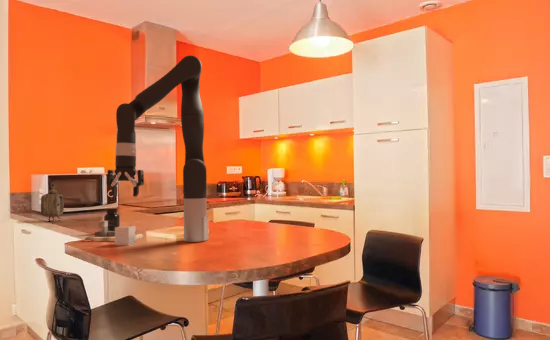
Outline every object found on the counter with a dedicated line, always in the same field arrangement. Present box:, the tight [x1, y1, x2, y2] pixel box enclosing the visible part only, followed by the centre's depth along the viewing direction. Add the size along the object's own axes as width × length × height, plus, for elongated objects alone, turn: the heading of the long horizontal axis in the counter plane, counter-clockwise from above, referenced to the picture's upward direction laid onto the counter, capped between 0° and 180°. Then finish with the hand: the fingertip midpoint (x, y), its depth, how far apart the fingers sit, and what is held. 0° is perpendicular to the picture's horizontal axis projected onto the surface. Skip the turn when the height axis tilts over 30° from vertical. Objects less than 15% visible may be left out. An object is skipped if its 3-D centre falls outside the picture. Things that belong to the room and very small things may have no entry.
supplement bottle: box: [103, 207, 121, 231], centre depth 186 cm, size 7×7×12 cm
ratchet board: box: [84, 220, 144, 242], centre depth 167 cm, size 20×11×8 cm, turn 84°
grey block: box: [114, 225, 137, 246], centre depth 154 cm, size 6×6×7 cm
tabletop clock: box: [40, 181, 65, 222], centre depth 249 cm, size 14×9×25 cm, turn 12°
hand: (125, 196), depth 155 cm, fingers open, 8 cm apart
